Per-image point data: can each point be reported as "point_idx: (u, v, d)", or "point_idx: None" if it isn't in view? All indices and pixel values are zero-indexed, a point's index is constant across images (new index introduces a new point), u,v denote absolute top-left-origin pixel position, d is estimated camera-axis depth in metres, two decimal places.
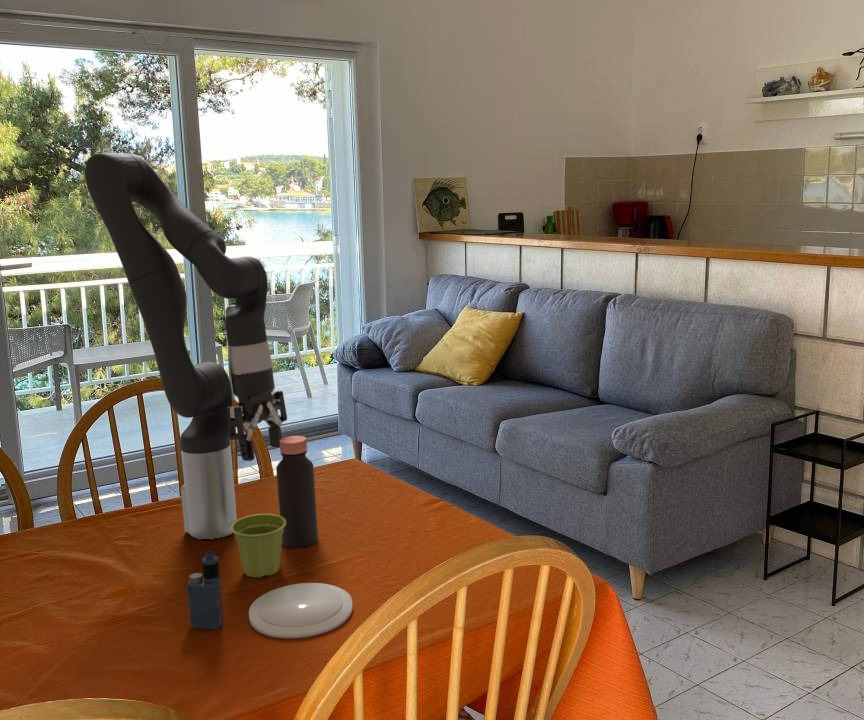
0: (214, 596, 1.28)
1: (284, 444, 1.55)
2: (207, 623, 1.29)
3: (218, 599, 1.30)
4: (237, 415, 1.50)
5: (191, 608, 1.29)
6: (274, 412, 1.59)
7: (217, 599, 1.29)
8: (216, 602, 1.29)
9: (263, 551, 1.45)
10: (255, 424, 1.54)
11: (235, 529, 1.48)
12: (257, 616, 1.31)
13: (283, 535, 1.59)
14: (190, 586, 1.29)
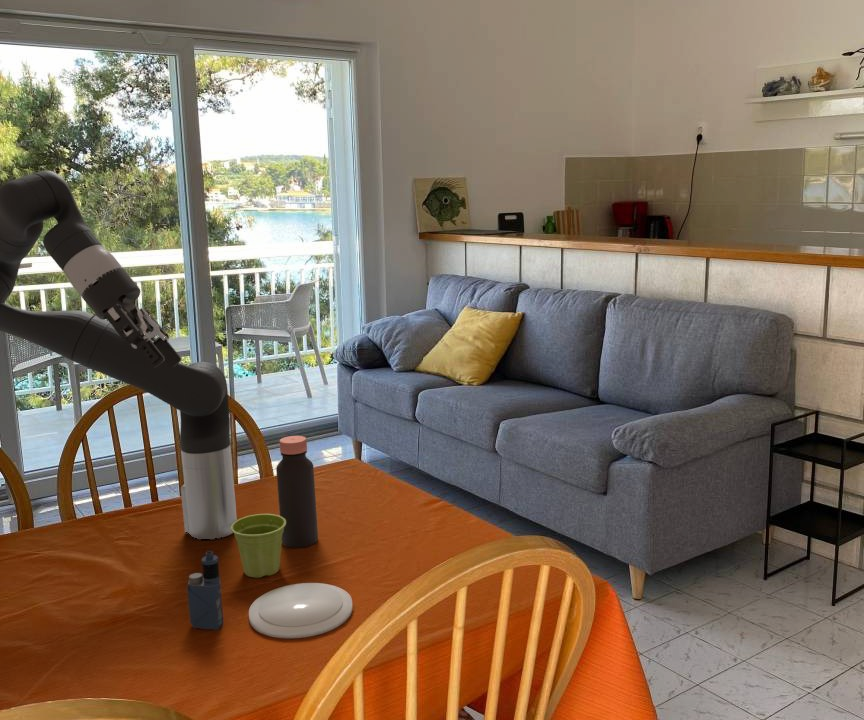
0: (214, 596, 1.28)
1: (284, 444, 1.55)
2: (207, 623, 1.29)
3: (218, 599, 1.30)
4: (120, 310, 1.24)
5: (191, 608, 1.29)
6: (153, 322, 1.34)
7: (217, 599, 1.29)
8: (216, 602, 1.29)
9: (263, 551, 1.45)
10: (144, 323, 1.28)
11: (235, 529, 1.48)
12: (257, 616, 1.31)
13: (283, 535, 1.59)
14: (190, 586, 1.29)
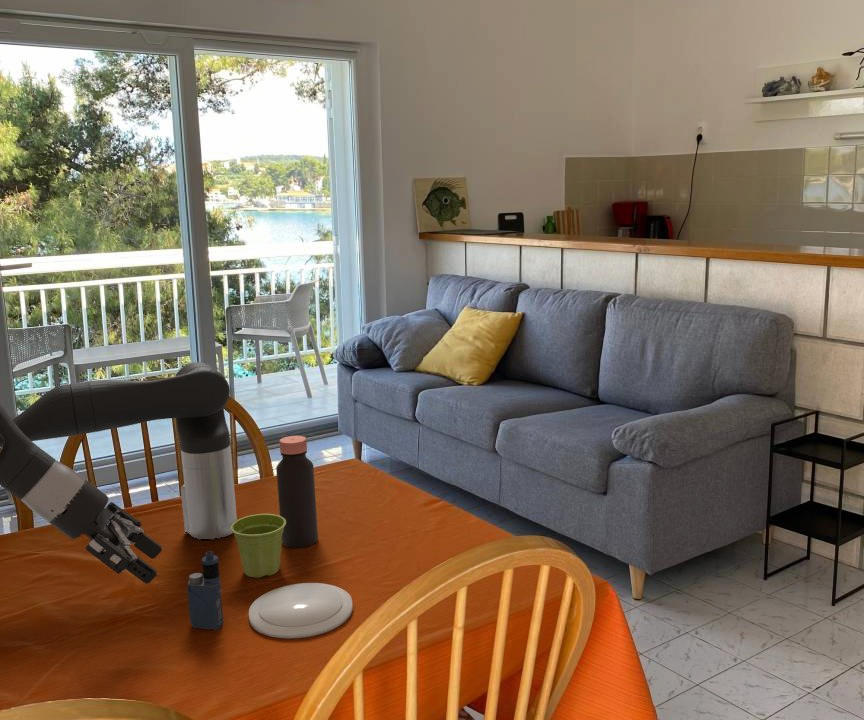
0: (214, 596, 1.28)
1: (284, 444, 1.55)
2: (207, 623, 1.29)
3: (218, 599, 1.30)
4: (104, 542, 1.17)
5: (191, 608, 1.29)
6: (127, 521, 1.27)
7: (217, 599, 1.29)
8: (216, 602, 1.29)
9: (263, 551, 1.45)
10: (126, 539, 1.22)
11: (235, 529, 1.48)
12: (257, 616, 1.31)
13: (283, 535, 1.59)
14: (190, 586, 1.29)
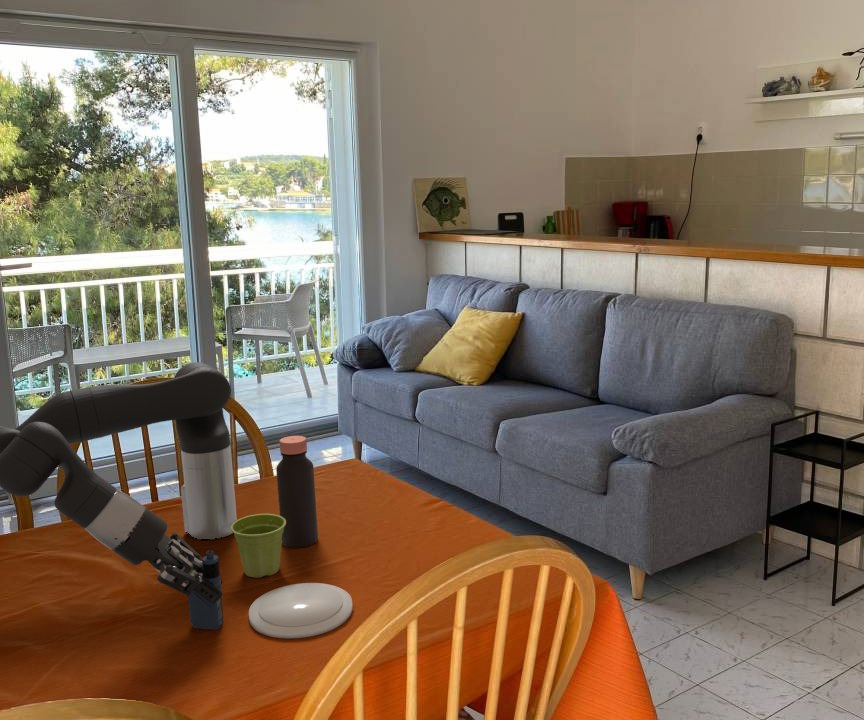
0: None
1: (284, 444, 1.55)
2: (207, 623, 1.29)
3: None
4: (176, 572, 1.22)
5: (191, 608, 1.29)
6: (186, 550, 1.30)
7: None
8: (216, 602, 1.29)
9: (263, 551, 1.45)
10: (189, 563, 1.27)
11: (235, 529, 1.48)
12: (257, 616, 1.31)
13: (283, 535, 1.59)
14: None
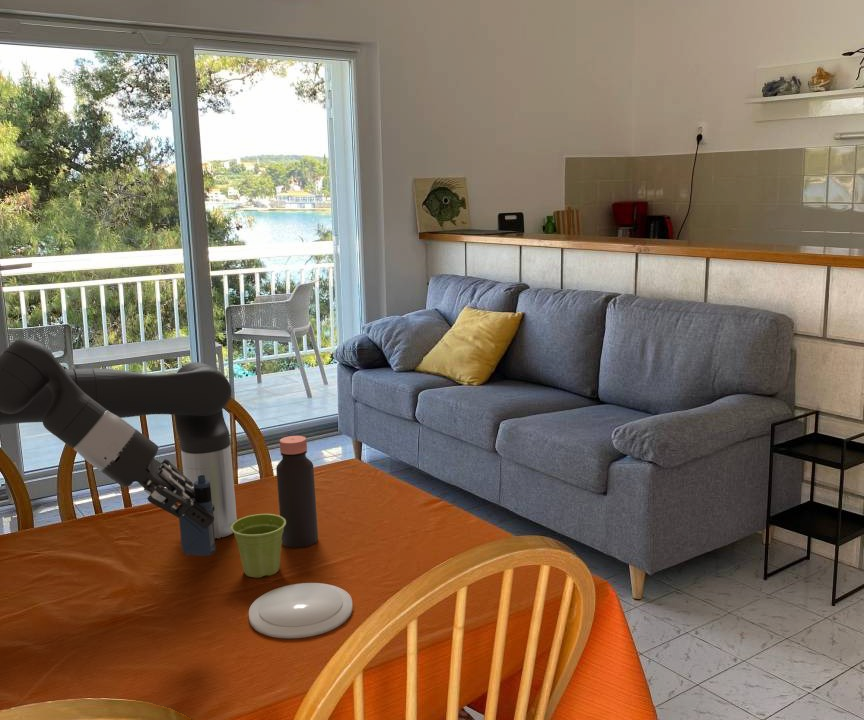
0: None
1: (284, 444, 1.55)
2: (199, 549, 1.27)
3: (210, 525, 1.27)
4: (167, 493, 1.19)
5: (183, 533, 1.27)
6: (178, 475, 1.27)
7: None
8: (208, 527, 1.27)
9: (263, 551, 1.45)
10: (181, 486, 1.24)
11: (235, 529, 1.48)
12: (257, 616, 1.31)
13: (283, 535, 1.59)
14: None
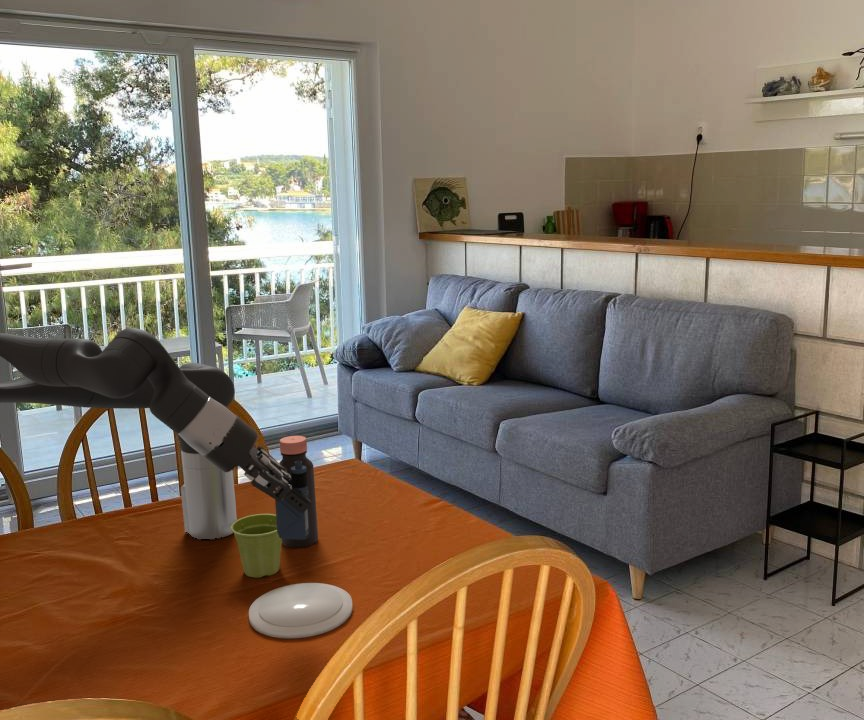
0: None
1: (284, 444, 1.55)
2: (295, 533, 1.30)
3: None
4: (270, 477, 1.23)
5: (279, 518, 1.30)
6: (274, 461, 1.31)
7: None
8: (304, 512, 1.30)
9: (263, 551, 1.45)
10: (279, 471, 1.27)
11: (235, 529, 1.48)
12: (257, 616, 1.31)
13: None
14: None
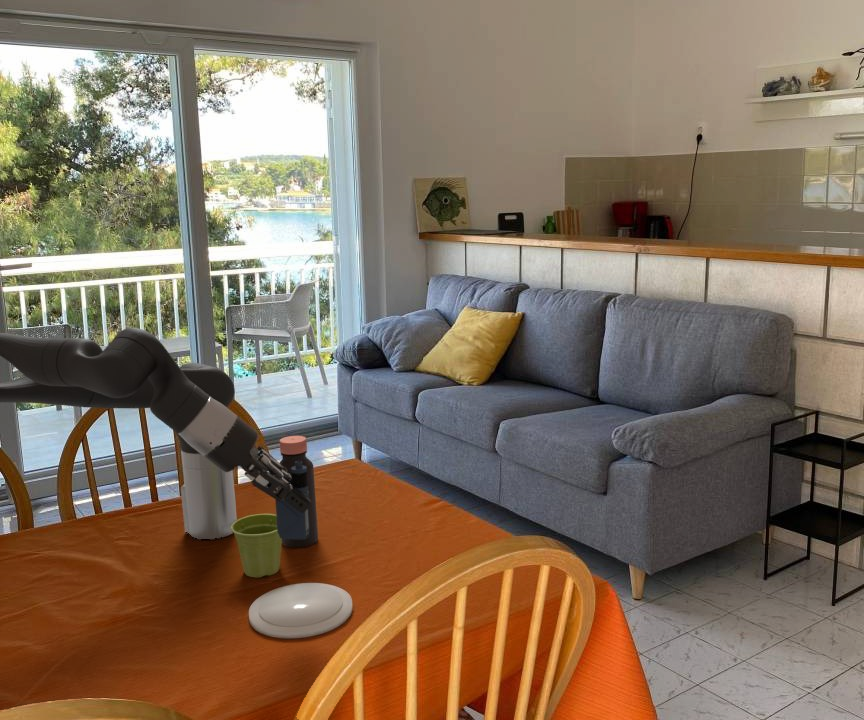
0: None
1: (284, 444, 1.55)
2: (295, 533, 1.30)
3: None
4: (270, 477, 1.23)
5: (279, 518, 1.30)
6: (274, 460, 1.31)
7: None
8: (304, 512, 1.30)
9: (263, 551, 1.45)
10: (280, 471, 1.27)
11: (235, 529, 1.48)
12: (257, 616, 1.31)
13: None
14: None
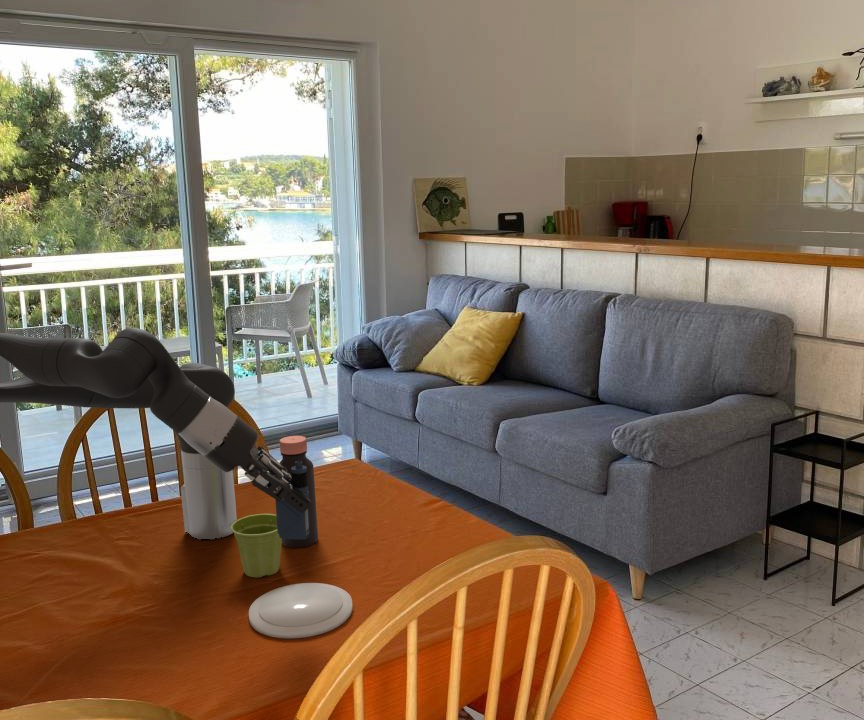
0: None
1: (284, 444, 1.55)
2: (295, 533, 1.30)
3: None
4: (270, 477, 1.23)
5: (279, 518, 1.30)
6: (274, 460, 1.31)
7: None
8: (304, 512, 1.30)
9: (263, 551, 1.45)
10: (280, 471, 1.27)
11: (235, 529, 1.48)
12: (257, 616, 1.31)
13: None
14: None
